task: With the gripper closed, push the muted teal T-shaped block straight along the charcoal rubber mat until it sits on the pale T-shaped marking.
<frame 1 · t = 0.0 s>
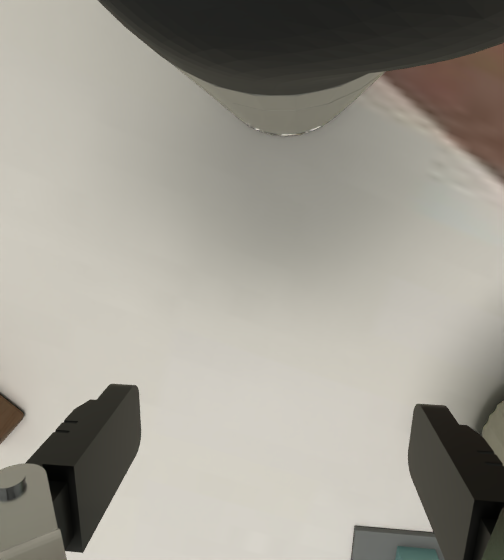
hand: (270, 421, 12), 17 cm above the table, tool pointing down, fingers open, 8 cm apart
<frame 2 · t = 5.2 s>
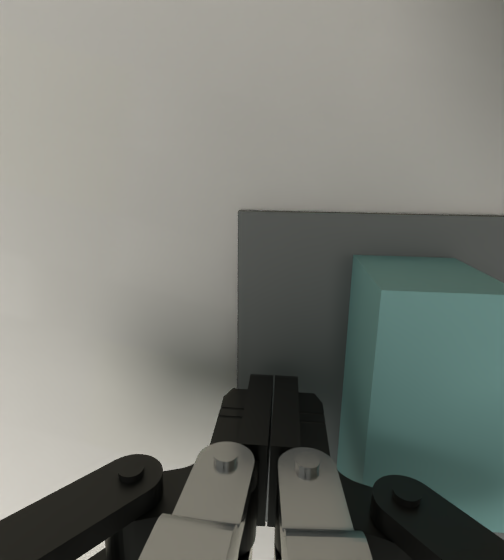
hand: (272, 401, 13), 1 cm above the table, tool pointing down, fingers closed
t block: (482, 394, 13), resting on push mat, touching gripper
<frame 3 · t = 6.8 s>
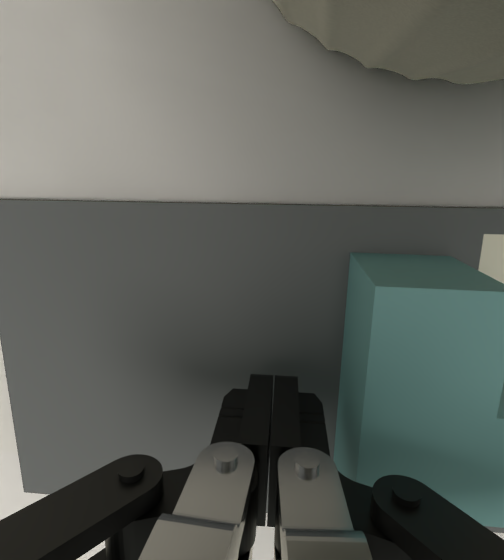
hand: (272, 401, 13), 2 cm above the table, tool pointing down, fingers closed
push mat: (395, 376, 14), on the table
t block: (478, 392, 13), resting on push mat, touching gripper
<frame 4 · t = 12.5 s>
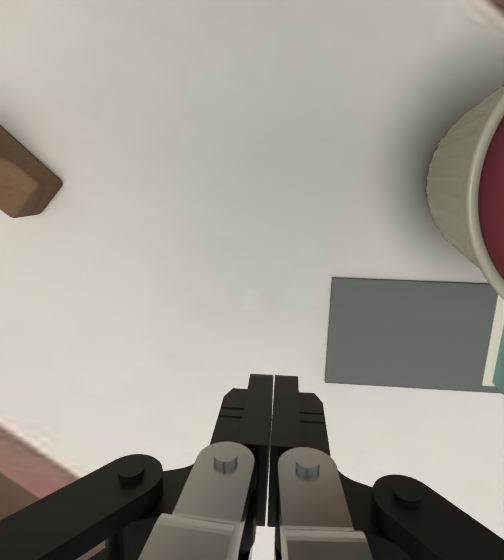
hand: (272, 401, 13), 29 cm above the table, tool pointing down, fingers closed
canister: (493, 179, 38), on the table
wooden block: (19, 168, 42), on the table
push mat: (467, 337, 42), on the table
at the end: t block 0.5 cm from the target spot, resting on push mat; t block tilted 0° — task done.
